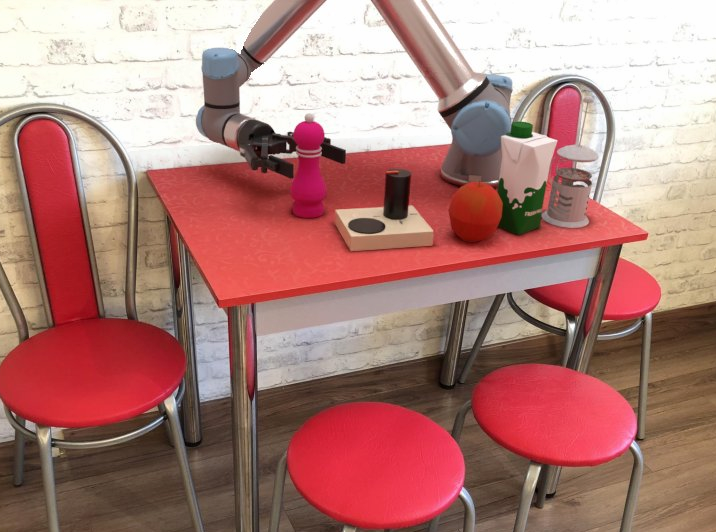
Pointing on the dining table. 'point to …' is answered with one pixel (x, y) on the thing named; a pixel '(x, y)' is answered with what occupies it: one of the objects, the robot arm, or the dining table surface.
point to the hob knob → (397, 194)
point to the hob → (394, 236)
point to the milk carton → (523, 177)
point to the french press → (571, 186)
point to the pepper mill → (308, 170)
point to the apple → (475, 211)
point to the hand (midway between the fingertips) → (318, 164)
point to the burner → (366, 225)
